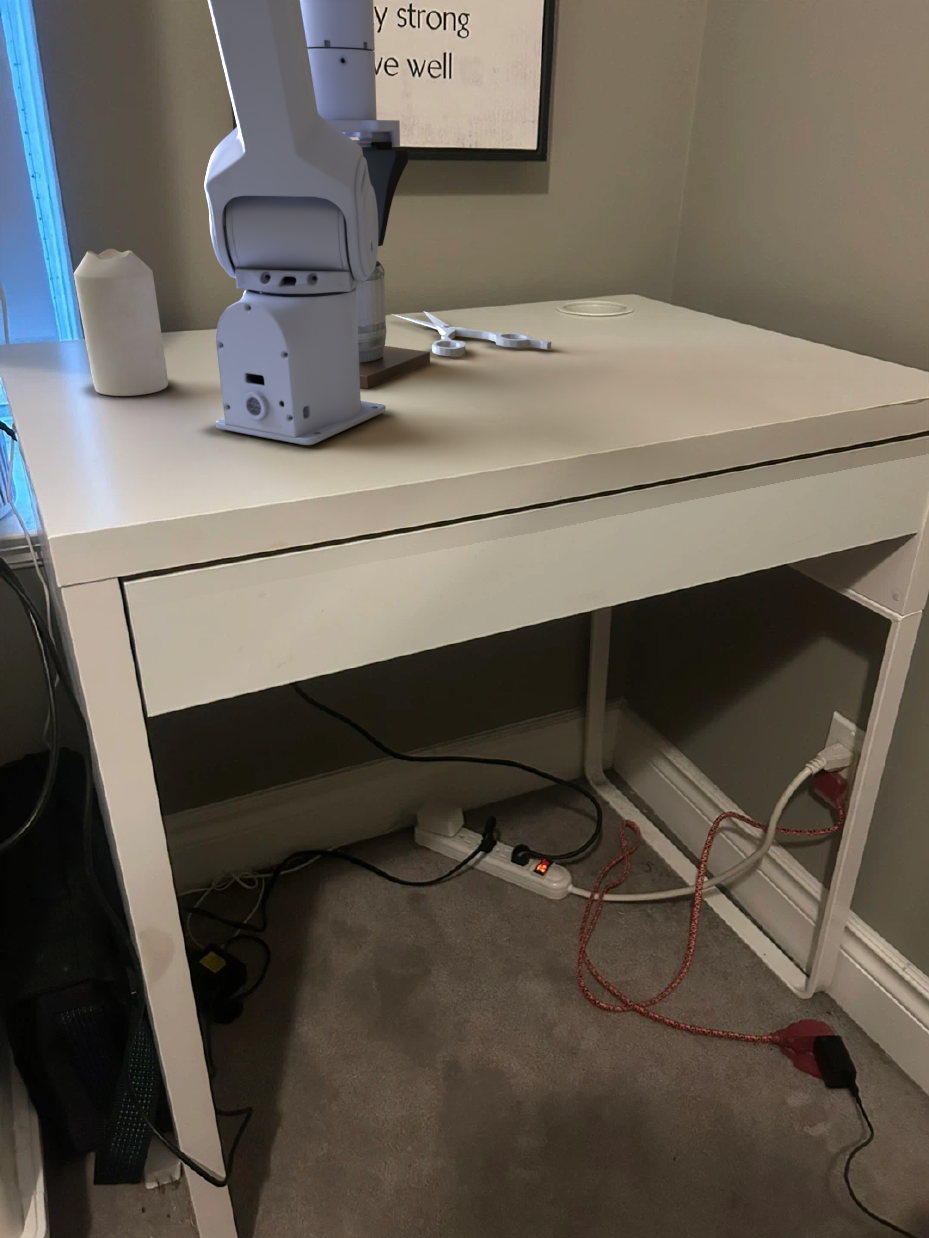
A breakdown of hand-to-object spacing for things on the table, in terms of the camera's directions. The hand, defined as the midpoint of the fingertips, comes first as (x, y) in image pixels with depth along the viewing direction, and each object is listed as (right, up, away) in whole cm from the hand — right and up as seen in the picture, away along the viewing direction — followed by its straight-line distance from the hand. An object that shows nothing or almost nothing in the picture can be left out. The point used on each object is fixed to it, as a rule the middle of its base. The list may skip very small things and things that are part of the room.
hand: (344, 250), depth 74 cm
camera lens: (0, -7, +4) cm, 9 cm away
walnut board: (0, -8, +5) cm, 9 cm away
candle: (-16, -12, -2) cm, 20 cm away
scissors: (+8, -2, +17) cm, 19 cm away
